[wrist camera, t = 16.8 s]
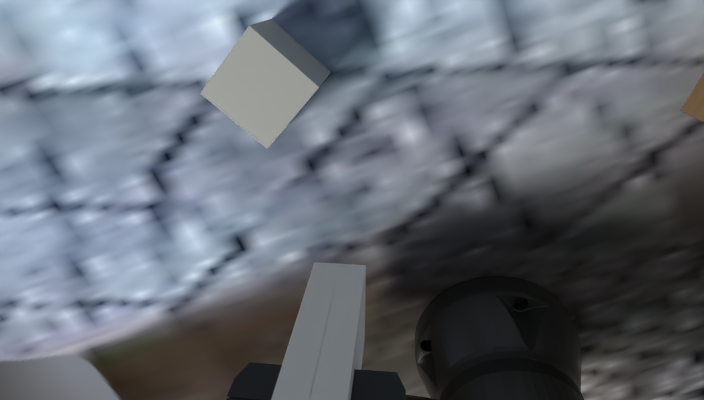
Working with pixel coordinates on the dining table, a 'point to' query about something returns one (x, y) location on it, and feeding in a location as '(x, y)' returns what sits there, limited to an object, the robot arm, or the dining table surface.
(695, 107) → the brown and green cube
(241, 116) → the grey block
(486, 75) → the dining table surface
